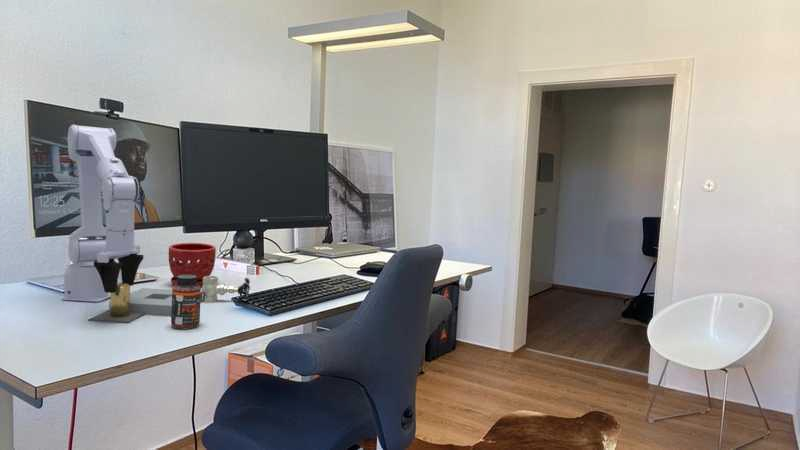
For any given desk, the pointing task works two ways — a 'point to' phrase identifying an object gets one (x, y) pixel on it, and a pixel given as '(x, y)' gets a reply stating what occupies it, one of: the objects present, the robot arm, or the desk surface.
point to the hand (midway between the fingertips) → (119, 288)
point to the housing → (152, 301)
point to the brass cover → (120, 301)
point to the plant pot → (191, 260)
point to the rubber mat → (107, 318)
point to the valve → (220, 289)
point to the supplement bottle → (186, 302)
